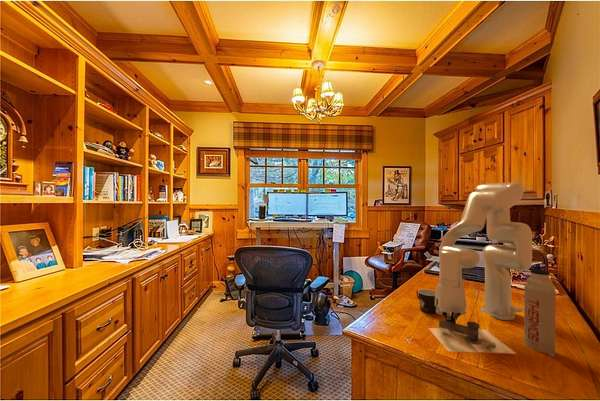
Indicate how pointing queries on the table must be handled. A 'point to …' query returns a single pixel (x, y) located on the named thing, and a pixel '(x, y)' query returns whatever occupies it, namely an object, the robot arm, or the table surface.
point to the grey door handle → (464, 329)
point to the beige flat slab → (469, 342)
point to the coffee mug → (427, 301)
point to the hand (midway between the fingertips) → (450, 328)
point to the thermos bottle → (539, 312)
